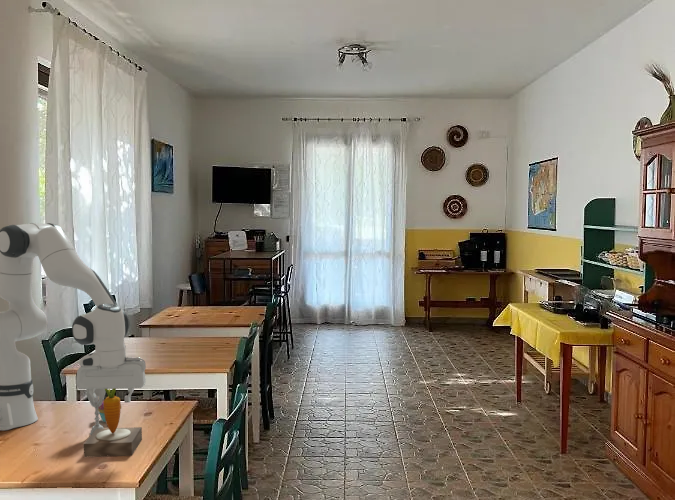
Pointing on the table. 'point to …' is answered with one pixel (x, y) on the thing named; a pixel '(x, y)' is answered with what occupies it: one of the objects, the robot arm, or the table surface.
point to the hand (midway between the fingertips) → (111, 402)
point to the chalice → (96, 406)
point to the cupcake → (101, 410)
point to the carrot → (112, 410)
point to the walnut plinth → (113, 442)
